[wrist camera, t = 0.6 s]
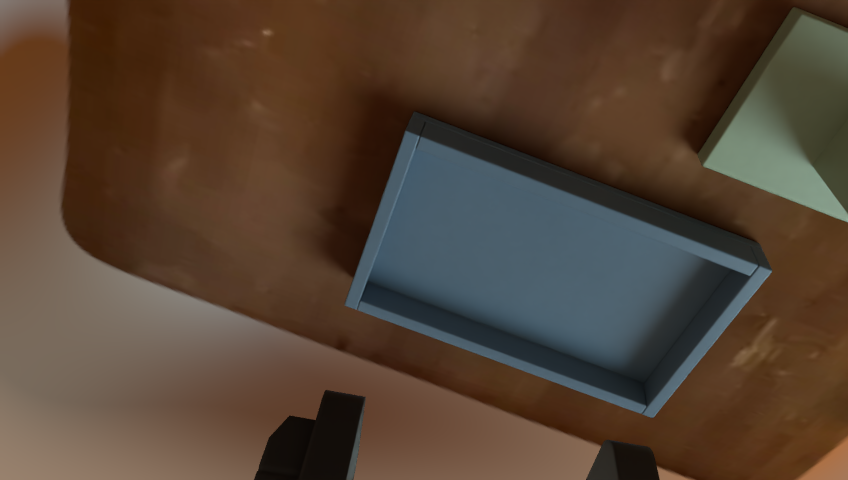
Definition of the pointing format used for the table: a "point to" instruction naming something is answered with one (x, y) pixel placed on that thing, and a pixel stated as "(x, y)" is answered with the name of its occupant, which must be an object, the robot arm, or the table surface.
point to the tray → (548, 268)
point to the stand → (791, 118)
